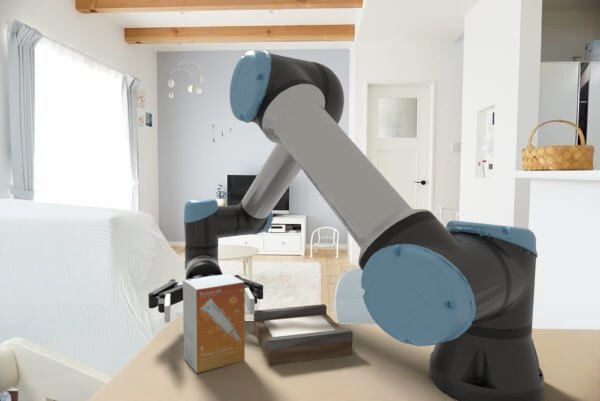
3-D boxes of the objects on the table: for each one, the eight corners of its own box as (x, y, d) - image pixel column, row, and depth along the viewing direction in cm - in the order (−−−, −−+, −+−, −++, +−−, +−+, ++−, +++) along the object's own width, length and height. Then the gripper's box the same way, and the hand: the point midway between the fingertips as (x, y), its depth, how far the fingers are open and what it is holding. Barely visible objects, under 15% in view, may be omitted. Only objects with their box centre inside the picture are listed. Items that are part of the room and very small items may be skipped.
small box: (197, 375, 63) (195, 289, 62) (183, 358, 68) (181, 279, 67) (246, 361, 67) (245, 281, 66) (229, 346, 72) (228, 272, 71)
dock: (352, 354, 69) (352, 331, 69) (269, 365, 66) (268, 340, 65) (324, 323, 83) (324, 304, 83) (253, 331, 79) (253, 310, 79)
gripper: (262, 289, 93) (285, 325, 72) (141, 299, 86) (129, 341, 65) (262, 256, 92) (285, 282, 72) (140, 263, 85) (127, 293, 65)
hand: (210, 310), depth 68 cm, fingers open, 13 cm apart
